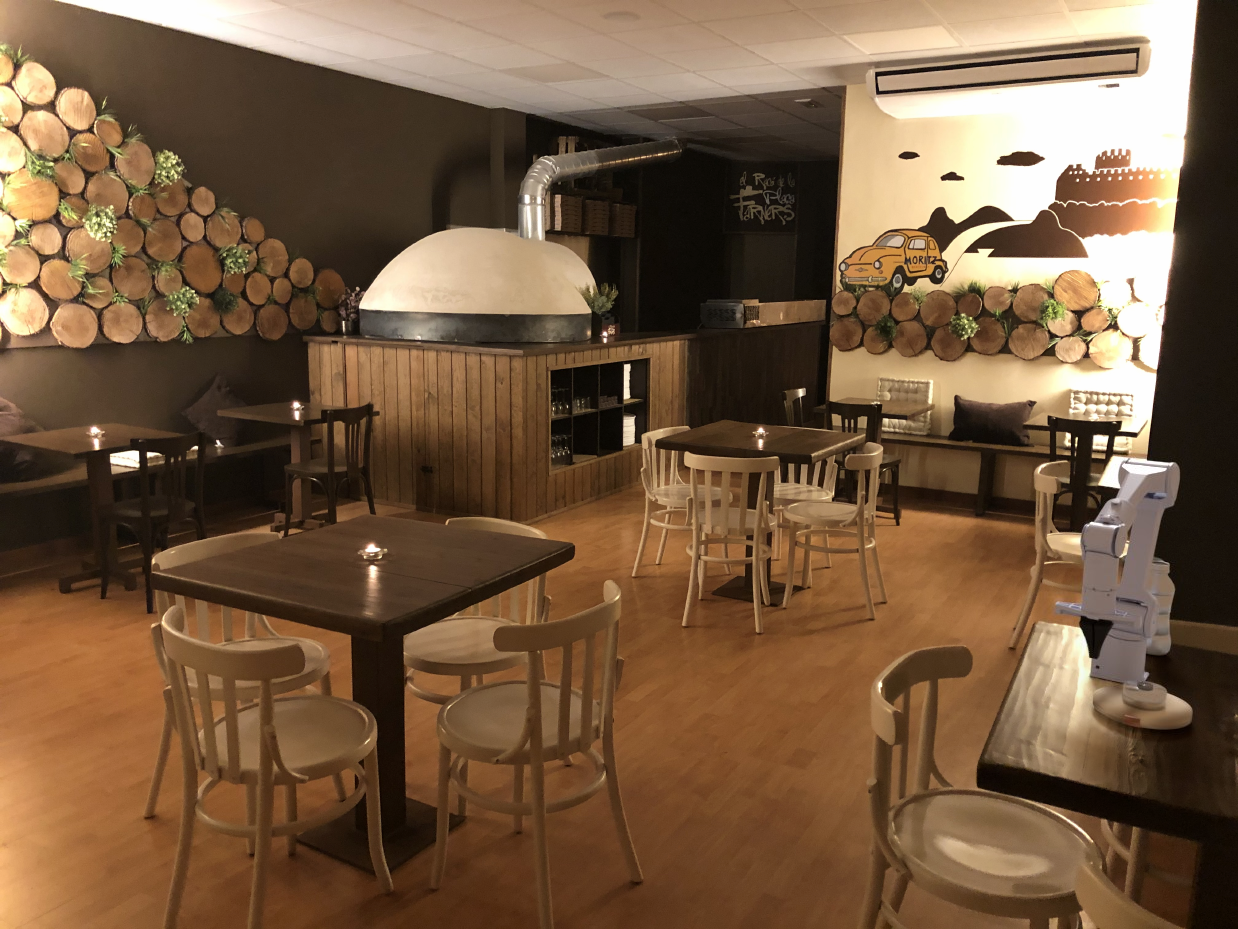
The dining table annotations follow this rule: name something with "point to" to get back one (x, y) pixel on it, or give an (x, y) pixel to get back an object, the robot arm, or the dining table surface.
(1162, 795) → the dining table surface
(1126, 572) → the robot arm
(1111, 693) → the turntable
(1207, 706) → the dining table surface
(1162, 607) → the plastic bottle
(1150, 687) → the cover
